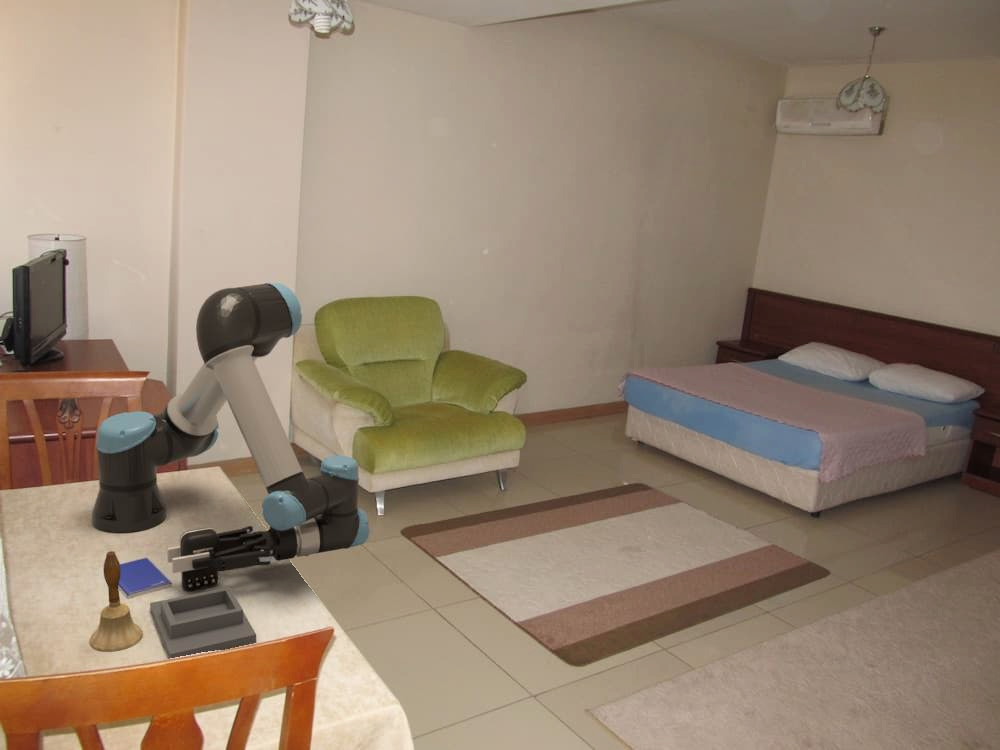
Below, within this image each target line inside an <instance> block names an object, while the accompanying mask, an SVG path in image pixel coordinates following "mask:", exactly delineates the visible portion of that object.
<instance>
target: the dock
mask: <svg viewBox="0 0 1000 750" xmlns="http://www.w3.org/2000/svg"><path fill="white" fill-rule="evenodd" d="M149 607H150V608H149V610H150V613H151V616H152V618H153V621H154V624H155V626H156V628H157V631H158V633H159V635H160V638H161V642H162V643H163V646H164V649H165V651H166V654H167V656H168V659H169V658H175V657H180V656H186V655H191V654H196V653H201V652H208V651H215V650H221V651H223V650H222V649H225V650H229V649H232V647H234V648H237V646H238V647H242V646H245V645H251V644H254V643H257V633H256V631H255V629H254V628H253V627H252V625H251V623H250V621H249V620H248V618H247V616H246V614H245V613H244V609H243V607H242V606H241V604H240V602H239V601H238V599H237V597H236V596H235V594H234V592H233V591H232V589H231V587H230V586H228V587H223V588H218V589H213V590H208V591H202V592H199V593H193V594H188V595H183V596H177V597H174V598H168V599H167V598H166V599H163V600H158V601H153V602H152V601H151V602H150V603H149ZM251 642H252V643H251ZM241 645H242V646H241ZM228 648H229V649H228Z"/></svg>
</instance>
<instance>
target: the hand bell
mask: <svg viewBox="0 0 1000 750" xmlns="http://www.w3.org/2000/svg"><path fill="white" fill-rule="evenodd" d="M120 564H121V563H120V561H119V559H118V556H117V554H116V552H115V551H107V552H106V557H105V559H104V563H103V576H104V581H105V583H106V584H107V585H106V586H107V588H108V589H107V590H108V603H109V604H108V605H107V606H105V607H103V608H102V610H101V611H100V619H99V624H98V627H97V629H96V630H95V631H94V632H93V633H92V634H91V636H90V638H89V645H90V646H91V647H92V648H93V649H95V650H97V651H99V652H100V651H101V652H117V651H122V650H126V649H128V648H130V647H133V646H134V645H136V644H138V643H139V641H141V639H142V638H143V635H144V631H143V629H142V627H141V626H140V625H138V624H137V623H135V622H134V621H133V617H132V615H131V609H130V607H129V605H127V604H126V603H121V598H120V589H119V588H118V585H119V580H120V575H121V569H120Z"/></svg>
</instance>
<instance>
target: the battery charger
mask: <svg viewBox="0 0 1000 750" xmlns="http://www.w3.org/2000/svg"><path fill="white" fill-rule="evenodd" d="M179 546H180V557H183V556H188V555H195V554H200V553H205V552H209V554H210V557H211V553H210V552H211V550H213V551H214V552H215V553H217V552H220V543H219V537H218V535H217V531H216V529H214V528H212V527H203V528H198V529H197V528H196V529H192V530H187V531H185V532H183V533H182V534H181V536H180V538H179ZM180 574H181V575H180V576H181V578H180V579H181V583H180V586H181V587H182V589H183V590H184V591H187V592H193V591H199V590H203V589H207V588H211V587H212V588H213V587H214V586H217V585H218V584H219V572H218V571H217V568H211V566H210V567H205V568H200V569H195V570H189V571H184V572H180Z"/></svg>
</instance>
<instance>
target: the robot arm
mask: <svg viewBox="0 0 1000 750" xmlns="http://www.w3.org/2000/svg"><path fill="white" fill-rule="evenodd" d="M301 309H302V307H301V303H300V300H298V297H297V296H296V294H295V292H294V291H293V290H292V289H291V288H290V287H288V286H286V285H285V284H282V283H276V282H275V283H272V282H266V283H261V284H260V283H259V284H252V285H245V286H238V287H237V286H236V287H227V288H223V289H219V290H218V291H215V292H213V293H212V294H211V295H210V296H208V297H207V298H206V300H205V301H204V302H203V304H202V305H201V307H200V308H199V312H198V314H197V319H196V326H195V327H196V328H195V331H196V332H195V333H196V334H195V335H196V341H197V347H198V351H199V354H200V357H201V359H202V361H203V364H202V365H201V367H200V368H199V370H198V371H197V372H196V374H195V375H194V377H193V378H192V380H191V381H190V383H189V385H188V386H187V387H186V389H185V390H184V391H183V393H182V394H178V395H176V396H174V397H173V398H171V399H170V400H169V402H168V403H167V405H166V406H165V408H164V409H163V410H162V411H161V412H160V413H155V414H152V413H150V412H147V411H139V410H138V411H130V412H127V411H125V412H120V413H118V414H117V413H116V414H114V415H112V416H110V417H107V418H106V419H105V420H104V419H103V421H102V422H101V423H100V424H99V425H98V427H97V433H96V434H97V435H96V442H95V444H96V449H97V462H98V463H97V464H98V479H99V481H98V483H99V489H98V493H97V495H96V499H95V503H94V505H93V509H92V512H91V516H92V517H91V518H92V519H91V520H92V525H93V526H94V527H95V528H96V529H98V530H101V531H105V532H109V533H110V532H111V533H132V532H133V533H134V532H139V531H144V530H147V529H150V528H153V527H155V526H158V525H160V524H161V523H162V522H164V520H165V519H166V518H167V506H166V503H165V499H164V497H163V496H162V493H161V490H160V488H159V486H158V479H157V477H158V476H157V469H158V468H160V467H163V466H165V465H169V464H172V463H175V462H179V461H182V460H185V459H188V458H193V457H197V456H200V455H202V454H204V453H205V452H207V451H209V450H210V449H211V448H213V446H214V445H215V443H216V442H217V440H218V437H219V432H218V431H217V430H218V429H219V427H220V426H219V420H218V416H217V415H218V413H219V412H220V410H221V409H222V407H223V406H224V405H225V403H226V402H227V403H228V406H229V409H230V411H231V412H232V414H233V417H234V420H235V421H236V424H237V426H238V428H239V431H240V433H241V435H242V438H243V440H244V441H245V442H244V443H245V444H246V446H247V448H248V451H249V453H250V455H251V457H252V460H253V462H254V464H255V466H256V468H257V471H258V473H259V476H260V478H261V480H262V482H263V484H264V487H265V489H266V492H267V494H268V495H266V496H265V497H264V499H263V500H262V503H261V508H262V516H263V518H264V520H265V522H266V524H267V525H268V526H269V529H268V530H263V531H262V530H259V531H255V530H254V529H253V528H254V526H252V525H249V526H245V527H243V528H240V529H239V528H238V529H234V530H233V529H232V530H228V531H222V532H218V533H217V532H216V533H217V535H218V537H219V543H220V552H217V553H215V552H214V551H213V550H211V552H210V553H211V557H210V554H209V552H205V553H200V554H195V555H188V556H183V557H180V545H178V546H177V545H176V546H172V547H167V548H166V549H167V551H166V553H167V563H169V564H170V563H172V573H173V574H177V573H181V572H184V571H189V570H195V569H200V568H205V567H210V566H211V568H217V571H218V573H219V572H226V571H231V570H232V571H233V570H239V569H244V568H249V567H256V566H270V565H271V558H272V557H273V559H275V560H276V561H279V562H280V561H285V560H290V559H293V558H295V557H297V558H299V557H309V556H310V555H315V554H321V553H326V552H331V551H332V552H333V551H338V550H343V549H344V550H347V549H350V548H353V547H358V546H361V545H364V544H365V543H366V542H368V539H369V536H370V525H369V524H370V523H369V517H368V515H367V513H366V512H365V510H363V509H362V508H358V505H359V504H358V500H359V499H358V497H359V482H360V481H359V480H360V477H359V464H358V461H357V460H356V459H355V458H353V457H350V456H348V455H331V456H328V457H326V458H324V459H323V460H322V461H321V464H320V465H321V466H320V470H319V471H320V473H318V474H316V475H313V476H311V477H309V478H306V476H305V474H304V471H303V469H302V467H301V465H300V463H299V461H298V458H297V456H296V453H295V451H294V449H293V447H292V445H291V442H290V441H289V438H288V436H287V433H286V431H285V429H284V427H283V424H282V422H281V419H280V417H279V416H278V413H277V411H276V409H275V406H274V403H273V401H272V400H271V397H270V395H269V393H268V390H267V388H266V386H265V383H264V381H263V378H262V376H261V375H260V372H259V370H258V368H257V365H256V363H255V362H256V360H257V359H258V358H259V359H260V358H263V357H266V356H269V354H271V352H272V351H273V349H274V348H275V346H277V344H278V342H279V341H280V340H281V339H286V338H287V339H288V338H291V337H292V336H294V335H296V333H298V331H299V330H300V328H301V325H302V319H303V314H302V311H301Z"/></svg>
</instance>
